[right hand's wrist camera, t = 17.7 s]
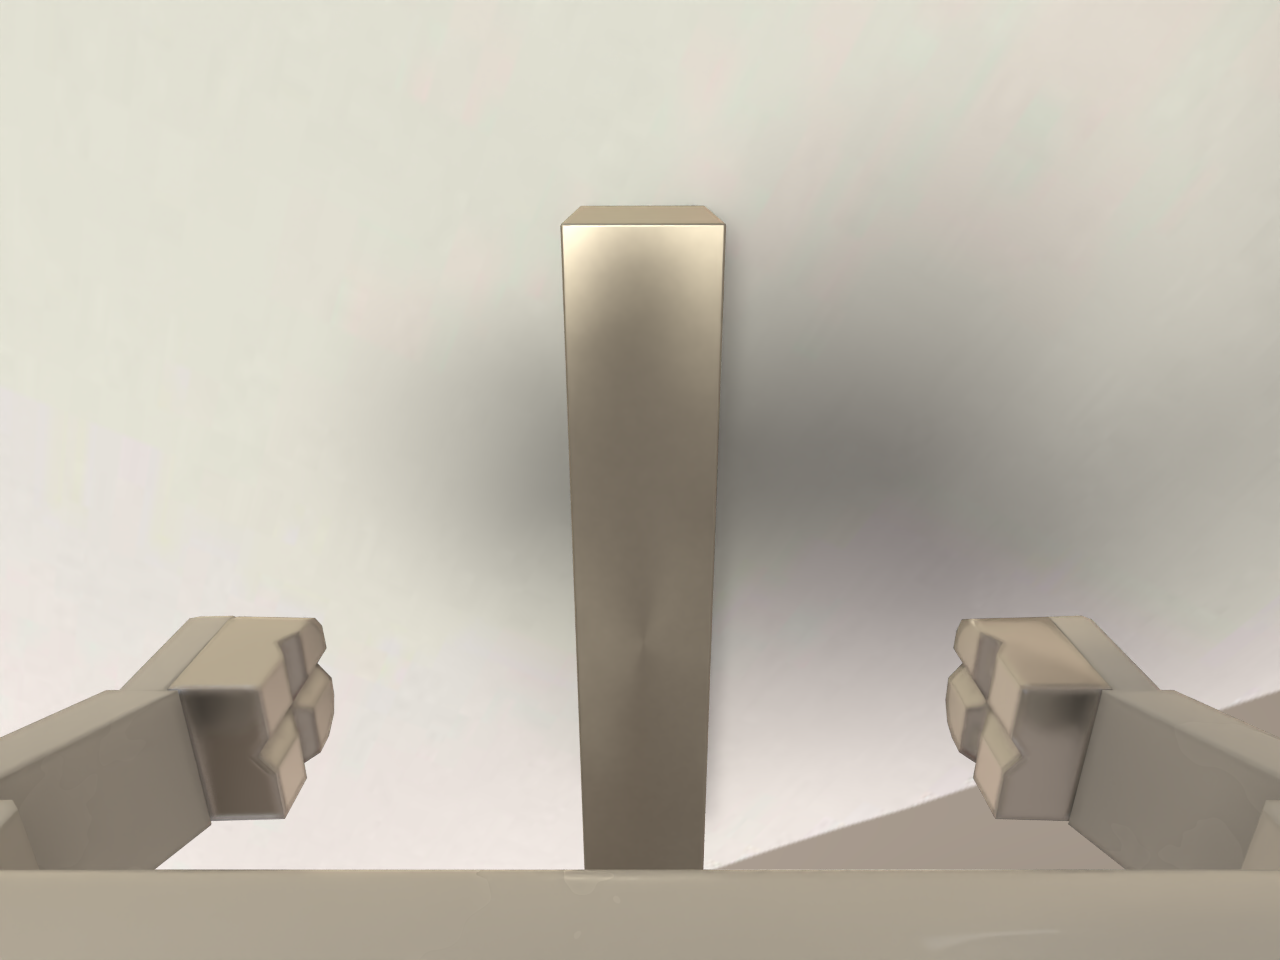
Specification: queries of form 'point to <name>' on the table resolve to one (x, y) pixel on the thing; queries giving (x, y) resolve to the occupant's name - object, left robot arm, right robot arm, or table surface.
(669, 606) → the bar
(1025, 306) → the table surface
